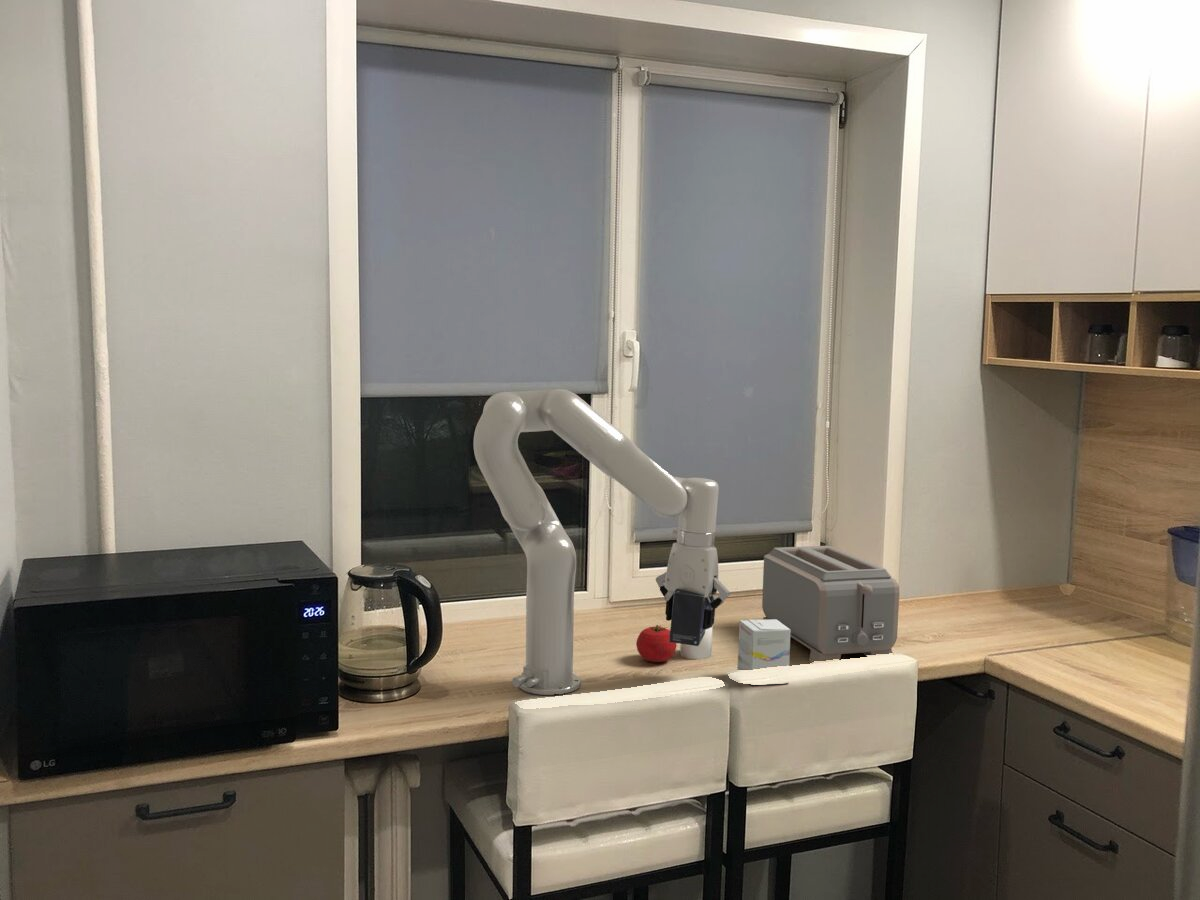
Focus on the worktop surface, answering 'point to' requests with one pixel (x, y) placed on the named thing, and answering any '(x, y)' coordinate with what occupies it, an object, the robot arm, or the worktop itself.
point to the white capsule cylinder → (699, 648)
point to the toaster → (831, 601)
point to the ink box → (763, 644)
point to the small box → (687, 618)
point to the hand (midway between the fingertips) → (689, 623)
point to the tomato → (655, 644)
